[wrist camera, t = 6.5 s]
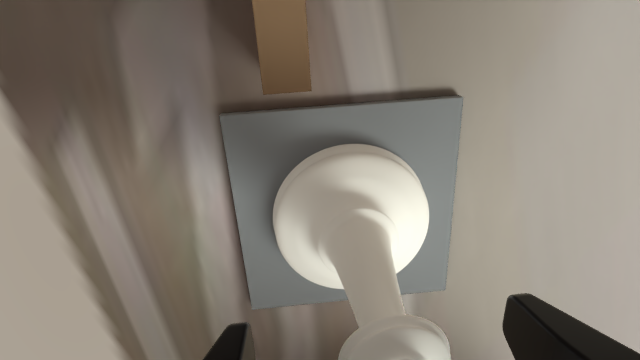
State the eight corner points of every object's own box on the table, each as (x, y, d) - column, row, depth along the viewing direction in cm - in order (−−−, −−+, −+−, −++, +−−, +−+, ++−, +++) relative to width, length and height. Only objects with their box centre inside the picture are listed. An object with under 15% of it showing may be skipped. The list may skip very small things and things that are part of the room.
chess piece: (434, 257, 13) (773, 812, 4) (298, 293, 13) (320, 907, 4) (411, 123, 11) (984, 623, 2) (250, 168, 11) (96, 820, 2)
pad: (442, 284, 14) (445, 290, 14) (252, 303, 14) (252, 309, 13) (458, 95, 11) (463, 97, 11) (221, 113, 11) (219, 116, 11)
